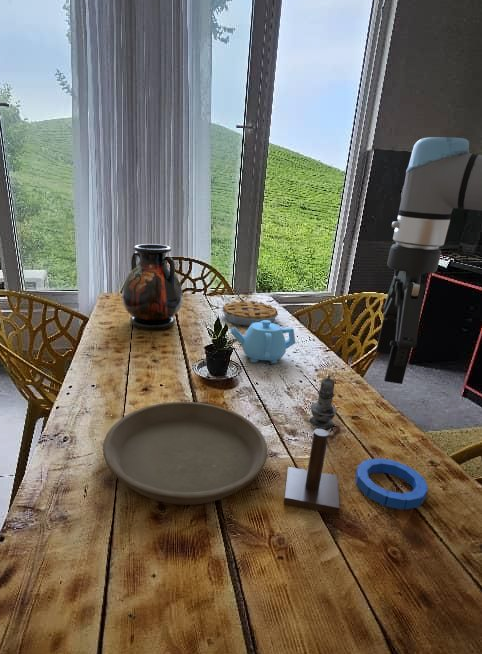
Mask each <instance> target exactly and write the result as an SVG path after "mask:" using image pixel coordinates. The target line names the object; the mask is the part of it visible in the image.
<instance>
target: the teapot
mask: <svg viewBox="0 0 482 654" xmlns="http://www.w3.org/2000/svg"><path fill="white" fill-rule="evenodd" d="M293 327H294V326H293ZM293 327H281V326H280V325H279V324H278V323H274V322H272V323H271V321H269V320H263V321H261V322H256V323H252V324H251V325H250V326H248V328H247V330H246V332H245V333H244V335H243V334H242V333H241V332H240V331H239V329H238V328H237V327H236V326H235V327H232V329H230V331H229V332H230V334H231V335H232V336H234V338H235V339H236V341H237V342H238V343H239V344H240V345H241V346H242V348H241V349H242V351H243V352H244V354H245V355H246V357H248V358H249V359H250V362H252V363H258V362H259V361H268V362H270V363H272V364H277V363H278V360H280V359H282V358H283V356H285V355H286V351H287V349H289V348H290V347H292V346H293V345H295V344H296V338H295V331H294V328H293ZM284 334H288V339H286V338H285V335H284Z"/></svg>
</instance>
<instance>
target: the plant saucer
mask: <svg viewBox="0 0 482 654" xmlns="http://www.w3.org/2000/svg"><path fill="white" fill-rule="evenodd" d="M104 437H105V438H104V441H103V447H102V451H103V457H104V461H105V463H106V465H107V467H108V468H109V470H110V471H111V472H112V474H113V475H114V476H115V477H116V478H117V480H119V481H120V482H121V483H122V484H124V485H125V486H126V487H127V488H129V489H130V490H132V491H135V492H136V493H138V494H139V495H142V496H143V497H146V498H148V499H150V500H153V501H157V502H159V503H165V504H170V505H179V506H193V505H203V504H208V503H213V502H216V501H220V500H222V499H225V498H227V497H229V496H232V495H233V494H235V493H237V492H239V491H241V490H243V489H244V488H245V487H247V486H248V485H249V484H251V483H252V482H253V481H254V480H255V479H256V478H257V477H258V476H259V475H260V474H261V472H262V471H263V469H264V467H265V465H266V462H267V459H268V445H267V442H266V440H265V437H264V435H263V433H262V431H260V430H259V428H258V427H257V426H256V425H255V424H254V423H253V422H252V421H250V420H249V419H248V418H246V417H244V416H243V415H242V414H240V413H237V412H235V411H233V410H230V409H228V408H225V407H222V406H219V405H214V404H210V403H203V402H194V401H172V402H171V401H170V402H162V403H156V404H153V405H148V406H145V407H142V408H138V409H137V410H134V411H132V412H130V413H128V414H125V416H123V417H122V418H120V419H119V420H117V422H115V423H114V424H113V425H112V427H110V429H109V430H108V432H107V433H106V436H104Z"/></svg>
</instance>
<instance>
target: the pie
mask: <svg viewBox="0 0 482 654" xmlns="http://www.w3.org/2000/svg"><path fill="white" fill-rule="evenodd" d="M221 310H222V313H223V314H224V316H225V318H226V320H227V321H228V322H230V323H232V324H234V325H238V326H239V325H241V326H247V327H250V325H251V324H252V323H256V322H261V321H263V320H269V321H271V323H274V321H275V319H276V317H278V316H279V313H278V312H279V311H278V310H277V308H276V307H273V306H272V305H271V304H265V303H264V302H262V301H260V302H256V301H245V300H244V301H243V300H240V301H238V302H236V301H232V302H231V303H230V302H226V303H225V305H222V309H221Z"/></svg>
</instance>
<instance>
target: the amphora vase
mask: <svg viewBox="0 0 482 654" xmlns="http://www.w3.org/2000/svg"><path fill="white" fill-rule="evenodd" d="M133 250H134V251H135V252H134V253H132V256H131V260H130V261H131V262H130V265H131V271H130V272H129V273H128V275H127V277H126V279H125V281H124V284H123V287H122V293H121V300H122V304H123V307H124V308H125V310H126V312H127V313H128V314H129V315H130V316H131V317H130V319H129V323H130V324H131V325H132V327H135V328H137V329H140V330H145V331H160V330H161V331H162V330H166V329H169V328H171V327H173V326H174V325H175V323H176V319H175V315H176V314H177V313H178V312H179V310H180V309H181V307H182V304H183V290H182V289H183V288H182V285H181V282H180V279H179V278H178V276H177V274H176V264H175V261H174V259H173V257H170V256H166V255H167V254H168V253H170V252H172V247H170V246H169V245H166V244H158V243H144V244H143V243H142V244H137V245H135V246H133ZM138 258H139V262H138V263H137V260H138ZM167 263H168V264H169V265H168V264H167Z"/></svg>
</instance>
